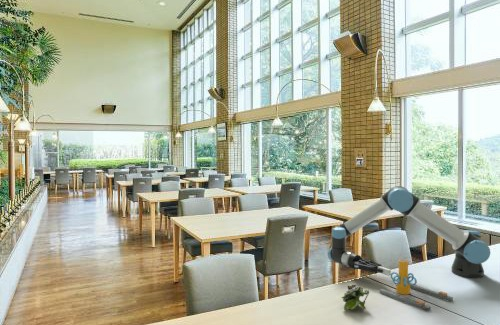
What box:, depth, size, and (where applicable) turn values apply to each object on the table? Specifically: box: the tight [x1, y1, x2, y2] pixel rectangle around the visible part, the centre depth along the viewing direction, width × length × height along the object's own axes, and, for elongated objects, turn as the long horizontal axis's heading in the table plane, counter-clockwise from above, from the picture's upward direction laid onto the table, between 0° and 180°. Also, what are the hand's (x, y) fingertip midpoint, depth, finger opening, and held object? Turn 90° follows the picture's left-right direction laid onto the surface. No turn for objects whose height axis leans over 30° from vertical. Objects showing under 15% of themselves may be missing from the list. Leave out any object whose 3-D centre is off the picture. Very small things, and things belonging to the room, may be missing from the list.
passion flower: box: [341, 284, 370, 311], centre depth 157 cm, size 11×11×12 cm
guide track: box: [379, 284, 454, 312], centre depth 168 cm, size 24×19×2 cm
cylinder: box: [390, 259, 418, 296], centre depth 173 cm, size 12×10×15 cm
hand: (389, 272), depth 179 cm, fingers closed
